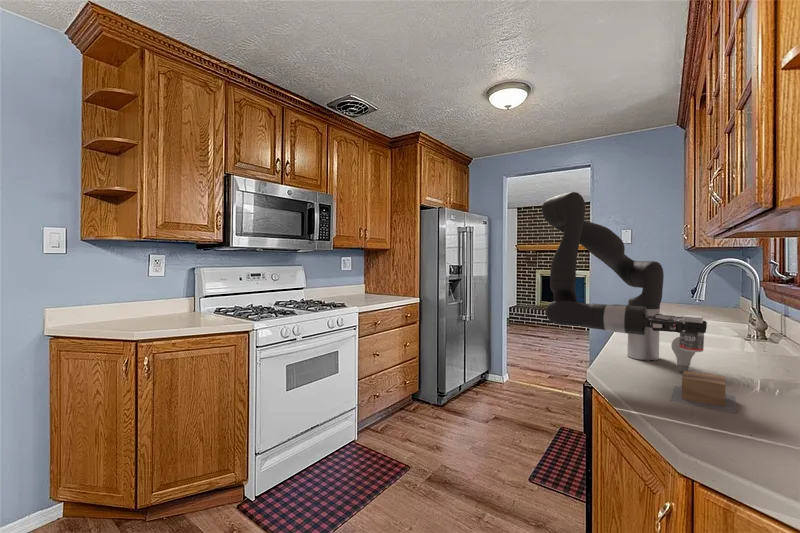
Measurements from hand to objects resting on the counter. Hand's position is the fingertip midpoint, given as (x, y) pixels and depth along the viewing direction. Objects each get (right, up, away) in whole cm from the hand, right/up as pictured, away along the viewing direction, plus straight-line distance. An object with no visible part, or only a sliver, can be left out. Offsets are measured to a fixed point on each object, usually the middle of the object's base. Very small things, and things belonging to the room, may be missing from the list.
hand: (705, 326), depth 93 cm
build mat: (0, -18, +1) cm, 18 cm away
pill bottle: (-2, -6, +2) cm, 7 cm away
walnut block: (0, -17, +1) cm, 17 cm away
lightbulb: (+11, -18, +22) cm, 30 cm away
